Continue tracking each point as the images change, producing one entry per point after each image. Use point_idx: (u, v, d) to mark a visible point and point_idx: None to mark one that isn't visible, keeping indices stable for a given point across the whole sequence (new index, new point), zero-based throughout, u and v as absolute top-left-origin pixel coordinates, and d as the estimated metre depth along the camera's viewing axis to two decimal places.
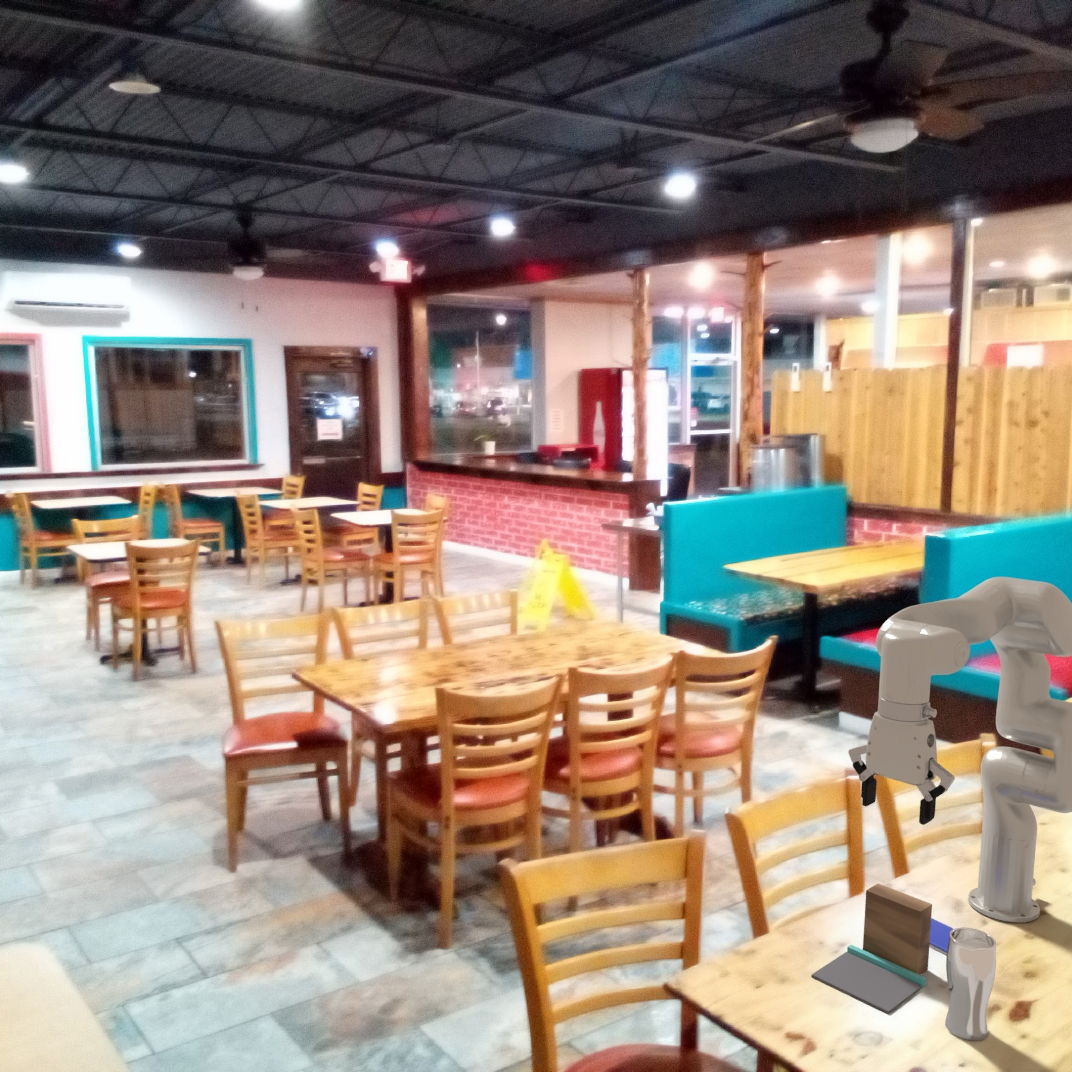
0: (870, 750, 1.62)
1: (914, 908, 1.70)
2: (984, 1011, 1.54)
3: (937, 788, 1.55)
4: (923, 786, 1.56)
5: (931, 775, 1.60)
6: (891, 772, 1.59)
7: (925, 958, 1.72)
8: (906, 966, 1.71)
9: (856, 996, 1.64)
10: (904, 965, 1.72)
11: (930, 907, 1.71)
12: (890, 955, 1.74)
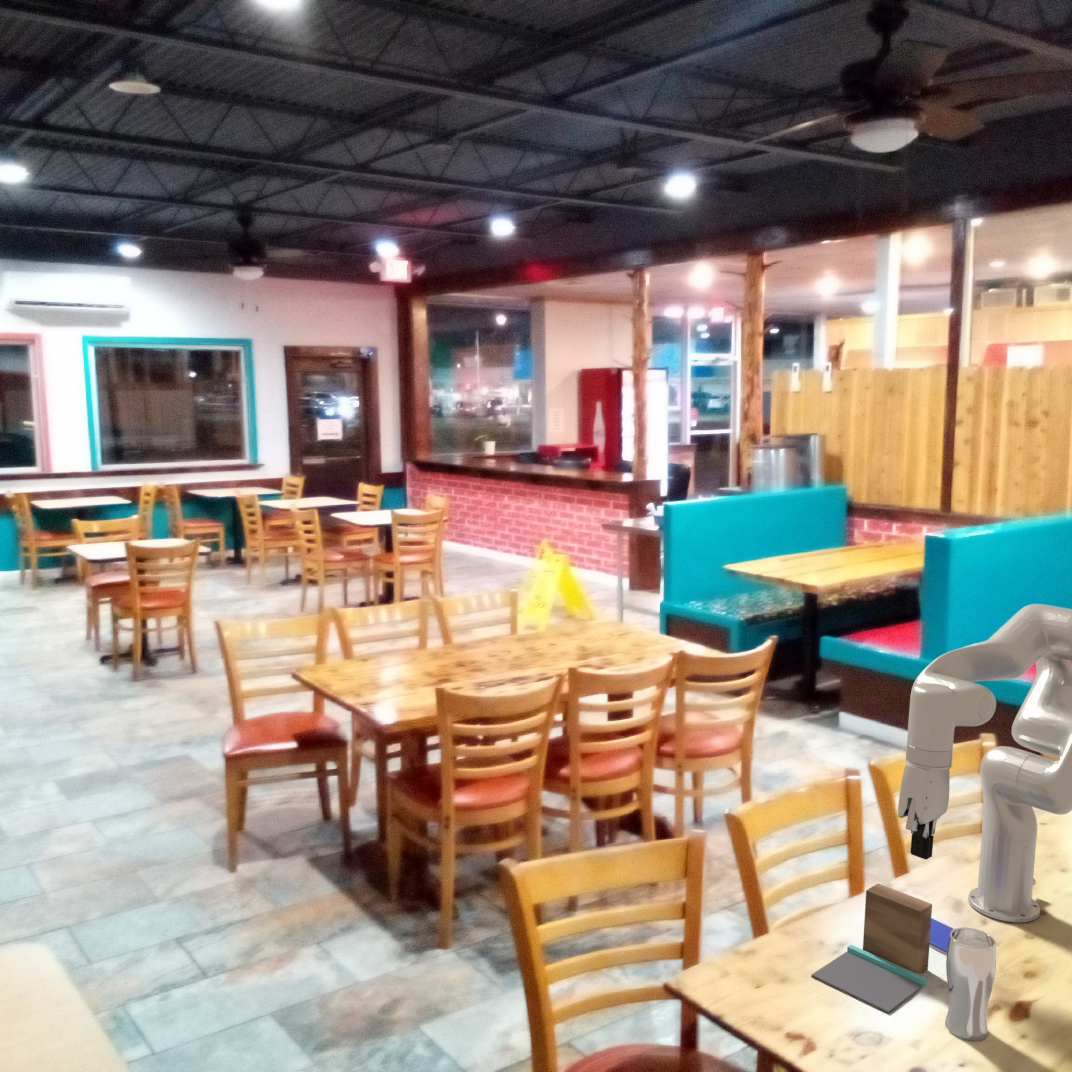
0: (926, 804, 1.73)
1: (914, 908, 1.70)
2: (984, 1011, 1.54)
3: None
4: (935, 822, 1.78)
5: None
6: (936, 814, 1.75)
7: (925, 958, 1.72)
8: (906, 966, 1.71)
9: (856, 996, 1.64)
10: (904, 965, 1.72)
11: (930, 907, 1.71)
12: (890, 955, 1.74)
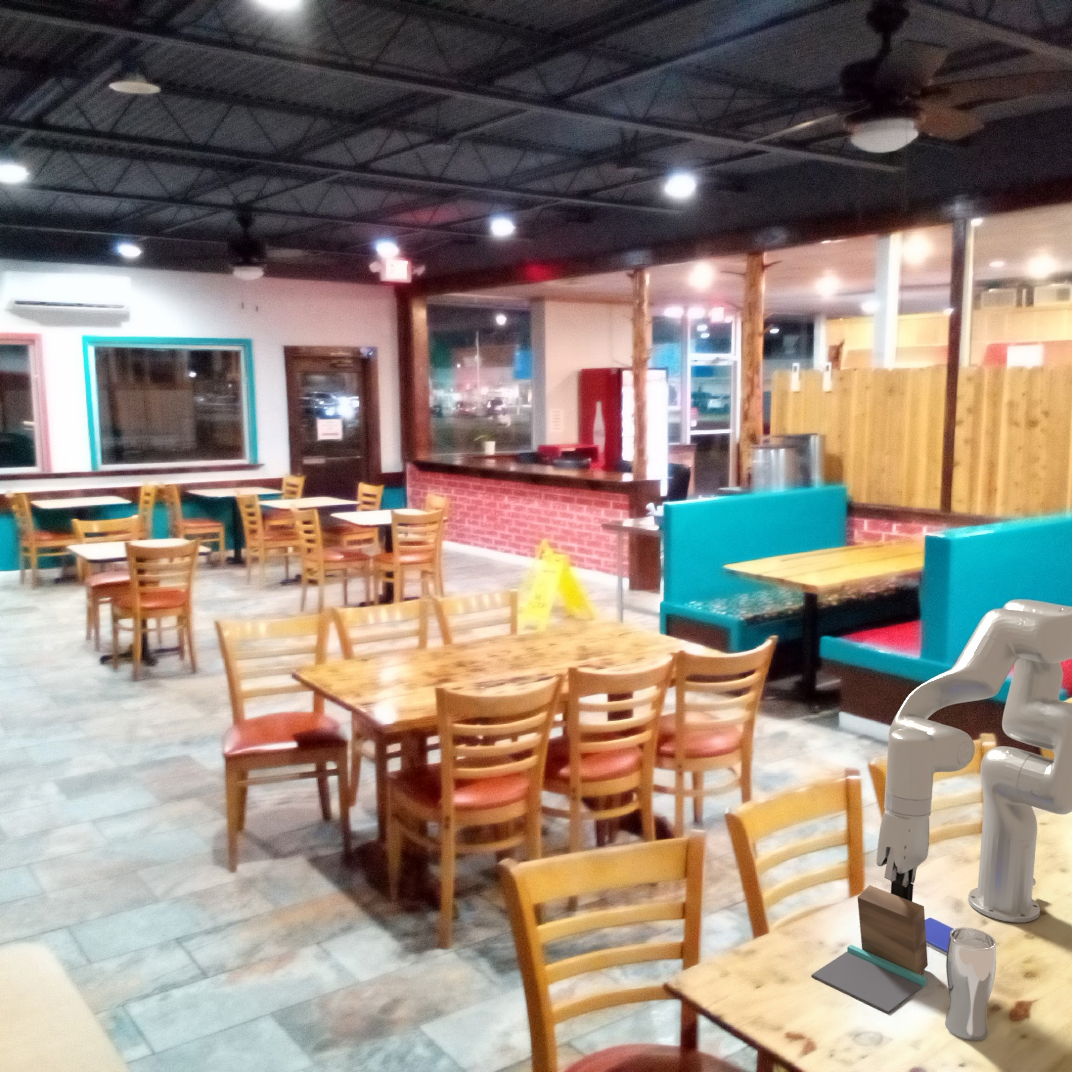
0: (905, 853, 1.69)
1: (906, 915, 1.68)
2: (984, 1011, 1.54)
3: None
4: (915, 869, 1.74)
5: None
6: (915, 862, 1.72)
7: (923, 956, 1.71)
8: (905, 966, 1.71)
9: (856, 996, 1.64)
10: (903, 966, 1.71)
11: (922, 910, 1.69)
12: (889, 957, 1.73)
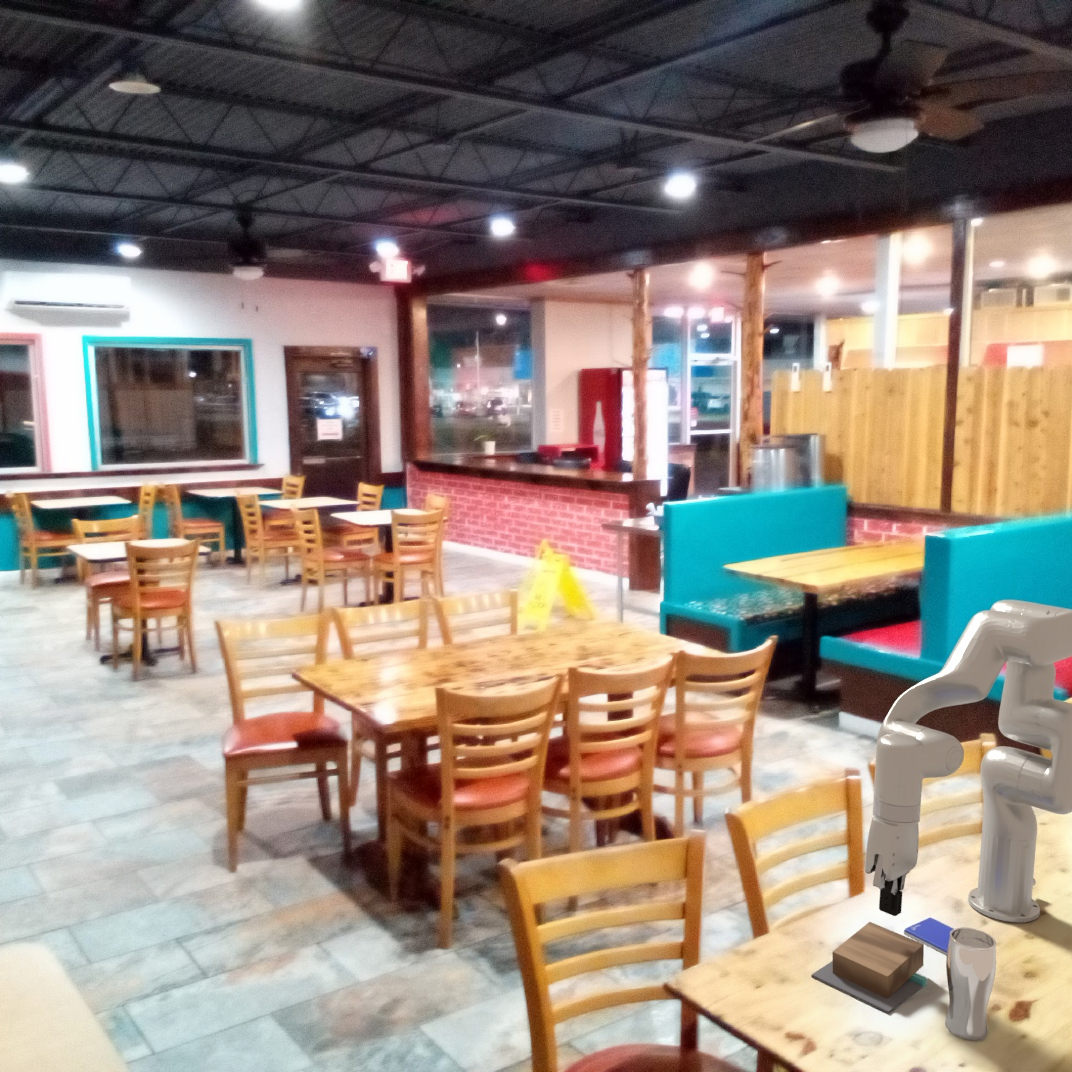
0: (894, 861, 1.67)
1: (880, 993, 1.64)
2: (984, 1011, 1.54)
3: None
4: (904, 876, 1.72)
5: None
6: (904, 869, 1.69)
7: (916, 957, 1.69)
8: None
9: (856, 996, 1.64)
10: None
11: (888, 978, 1.63)
12: None
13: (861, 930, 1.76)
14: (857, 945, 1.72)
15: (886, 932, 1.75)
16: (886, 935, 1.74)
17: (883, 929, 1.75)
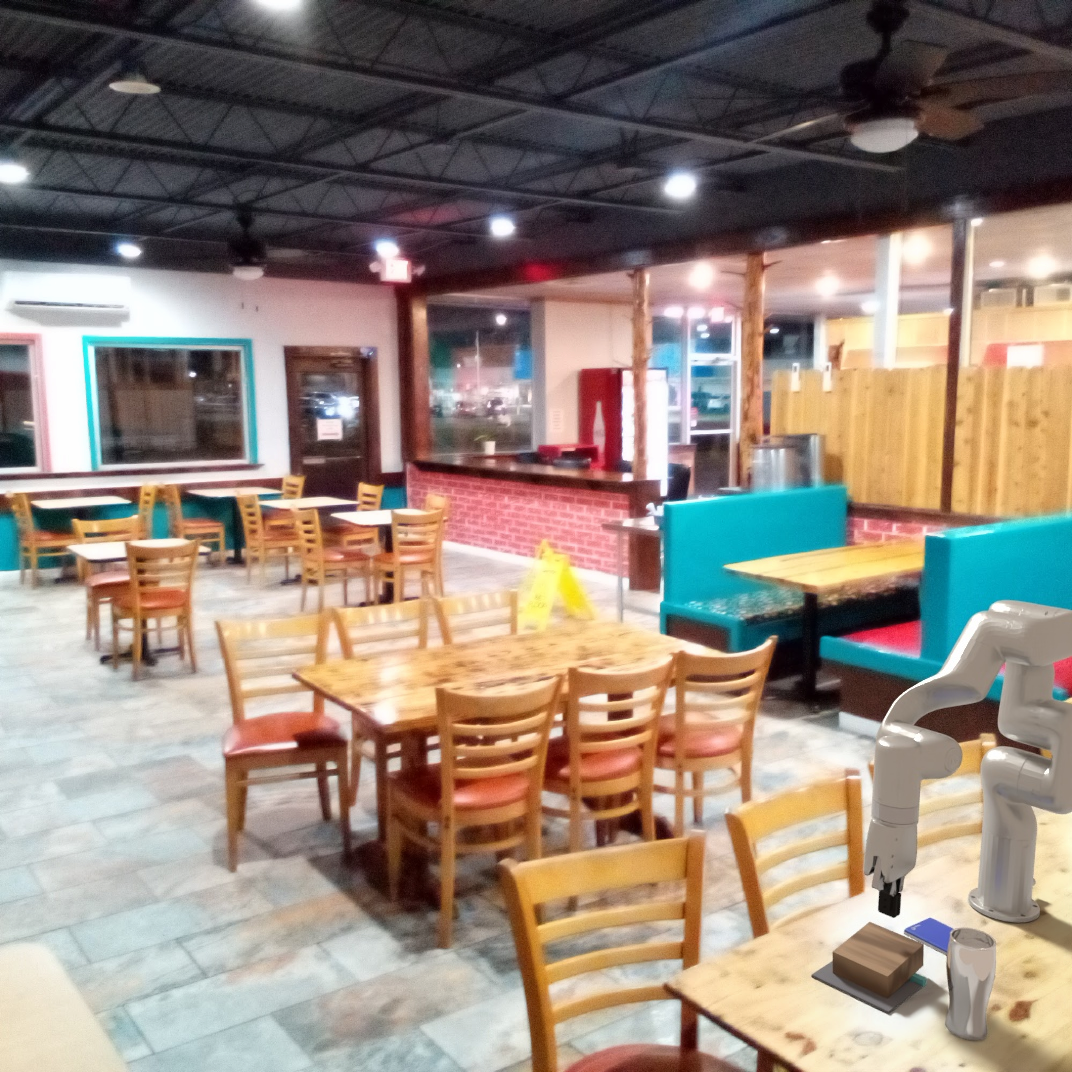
0: (892, 862, 1.66)
1: (880, 993, 1.64)
2: (984, 1011, 1.54)
3: None
4: (903, 878, 1.71)
5: None
6: (903, 871, 1.69)
7: (916, 957, 1.69)
8: None
9: (856, 996, 1.64)
10: None
11: (888, 978, 1.63)
12: None
13: (861, 930, 1.76)
14: (857, 945, 1.72)
15: (886, 932, 1.75)
16: (886, 935, 1.74)
17: (883, 929, 1.75)
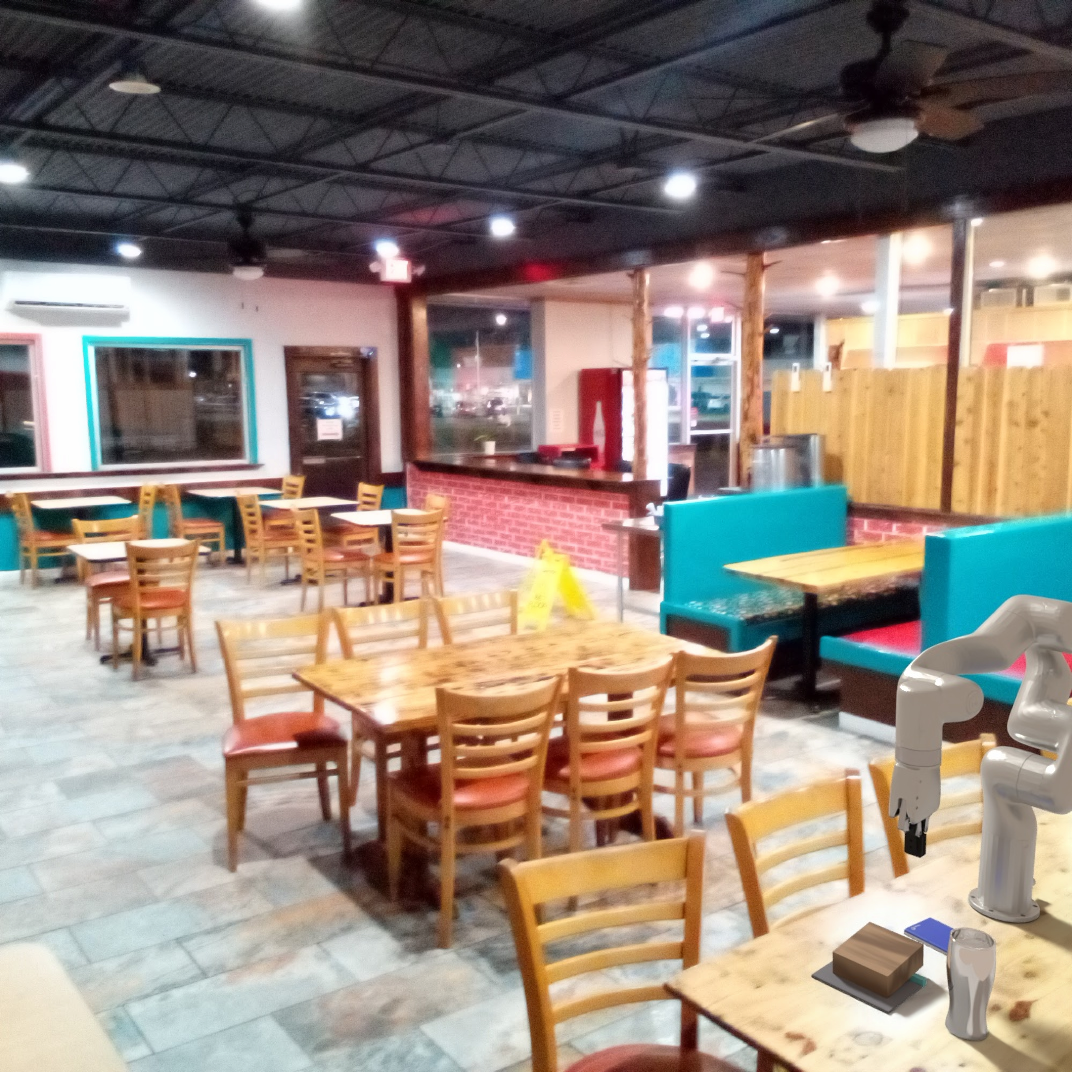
0: (917, 804, 1.70)
1: (880, 993, 1.64)
2: (984, 1011, 1.54)
3: None
4: (928, 819, 1.75)
5: None
6: (927, 812, 1.73)
7: (916, 957, 1.69)
8: None
9: (856, 996, 1.64)
10: None
11: (888, 978, 1.63)
12: None
13: (861, 930, 1.76)
14: (857, 945, 1.72)
15: (886, 932, 1.75)
16: (886, 935, 1.74)
17: (883, 929, 1.75)
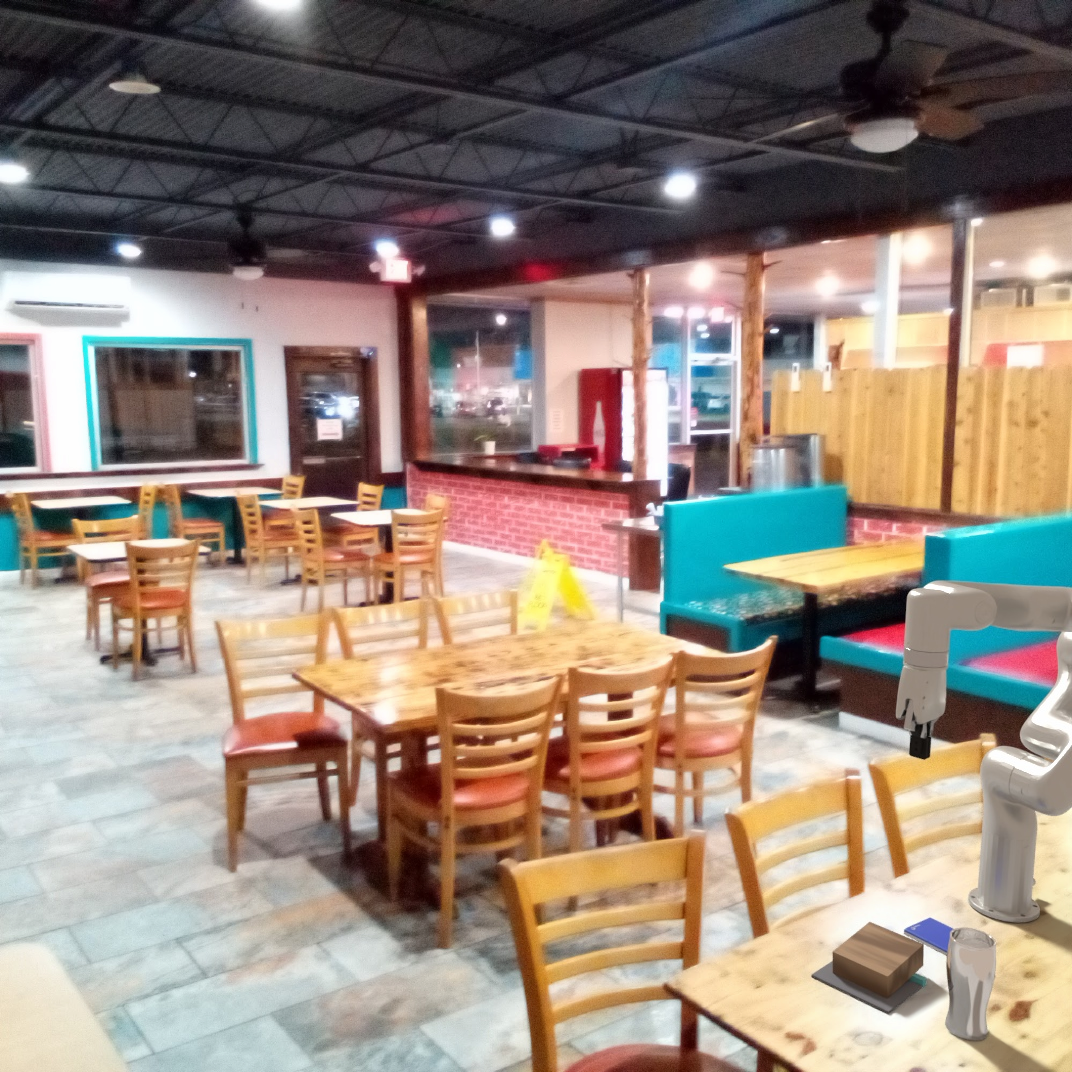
0: (924, 704, 1.77)
1: (880, 993, 1.64)
2: (984, 1011, 1.54)
3: None
4: (933, 723, 1.82)
5: None
6: (933, 714, 1.80)
7: (916, 957, 1.69)
8: None
9: (856, 996, 1.64)
10: None
11: (888, 978, 1.63)
12: None
13: (861, 930, 1.76)
14: (857, 945, 1.72)
15: (886, 932, 1.75)
16: (886, 935, 1.74)
17: (883, 929, 1.75)
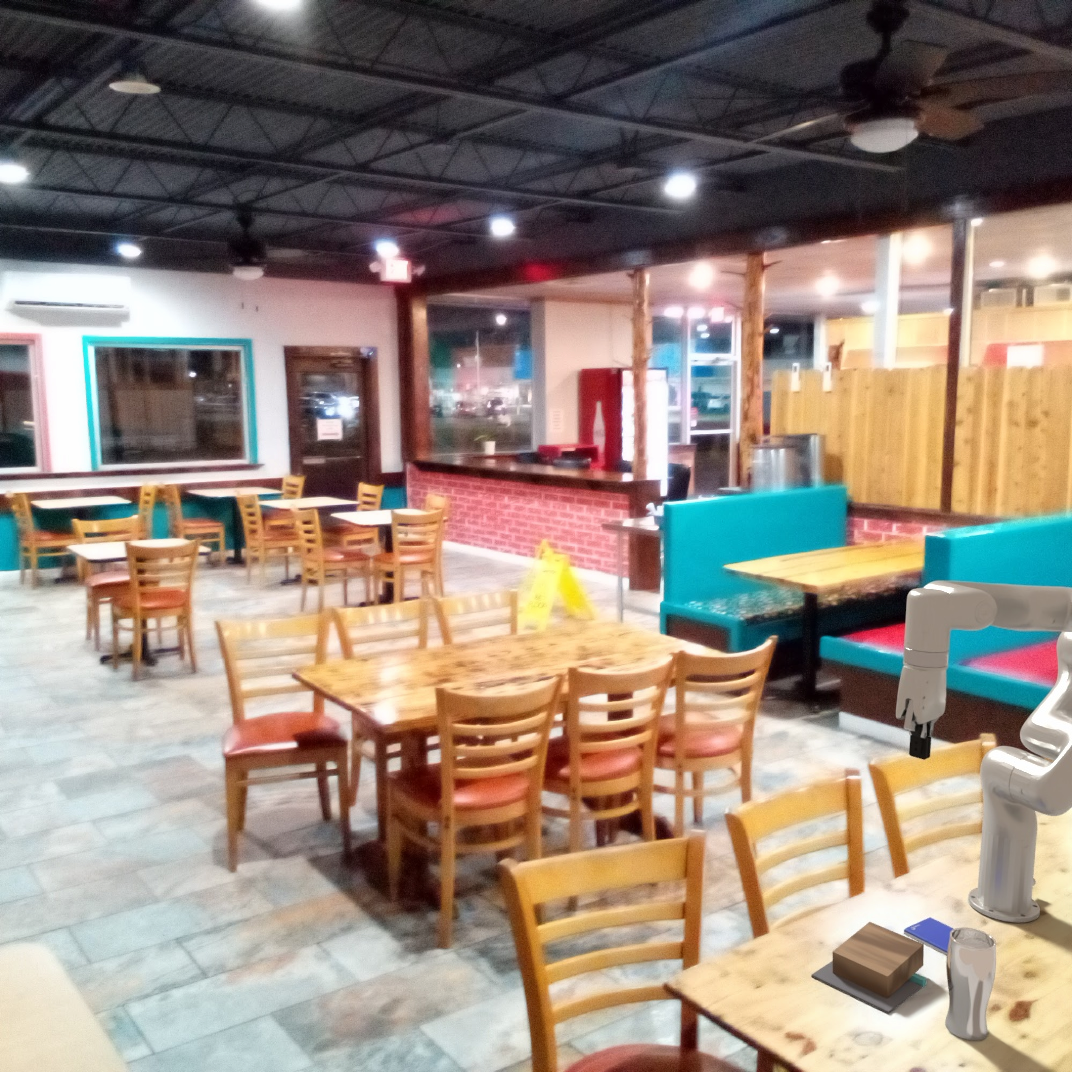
0: (924, 704, 1.77)
1: (880, 993, 1.64)
2: (984, 1011, 1.54)
3: None
4: (933, 723, 1.82)
5: None
6: (933, 714, 1.80)
7: (916, 957, 1.69)
8: None
9: (856, 996, 1.64)
10: None
11: (888, 978, 1.63)
12: None
13: (861, 930, 1.76)
14: (857, 945, 1.72)
15: (886, 932, 1.75)
16: (886, 935, 1.74)
17: (883, 929, 1.75)
